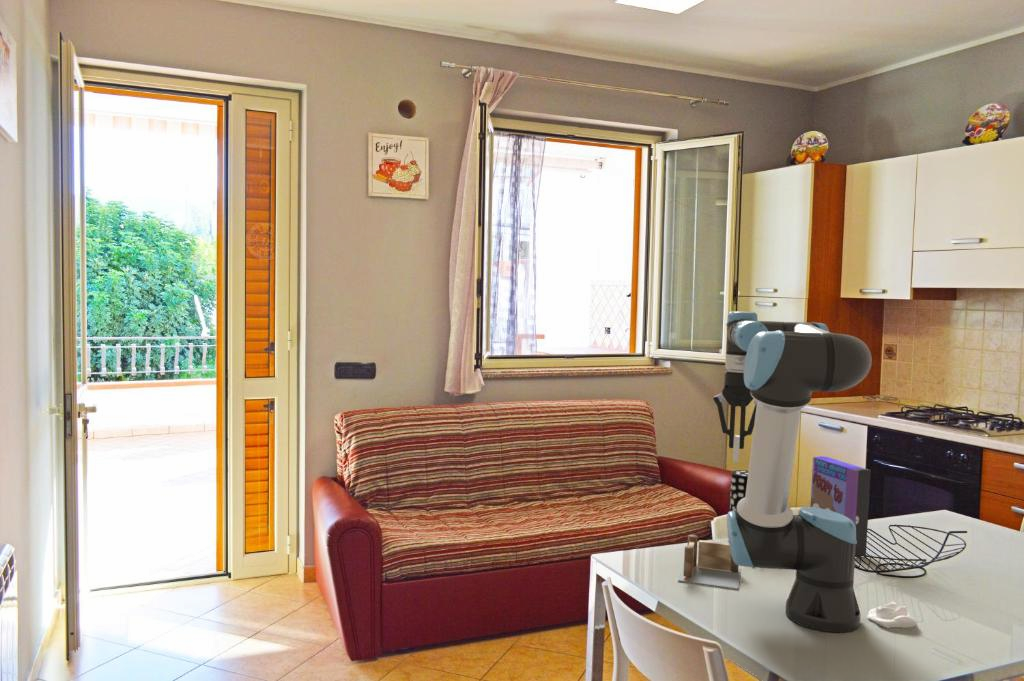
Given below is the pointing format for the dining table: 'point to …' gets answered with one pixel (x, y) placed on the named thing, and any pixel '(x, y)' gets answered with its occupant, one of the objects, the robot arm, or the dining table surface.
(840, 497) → the cereal box
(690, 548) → the folding panel
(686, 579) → the card
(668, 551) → the dining table surface
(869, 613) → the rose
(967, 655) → the dining table surface
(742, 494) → the white-spotted black cylinder
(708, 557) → the fence fixed
